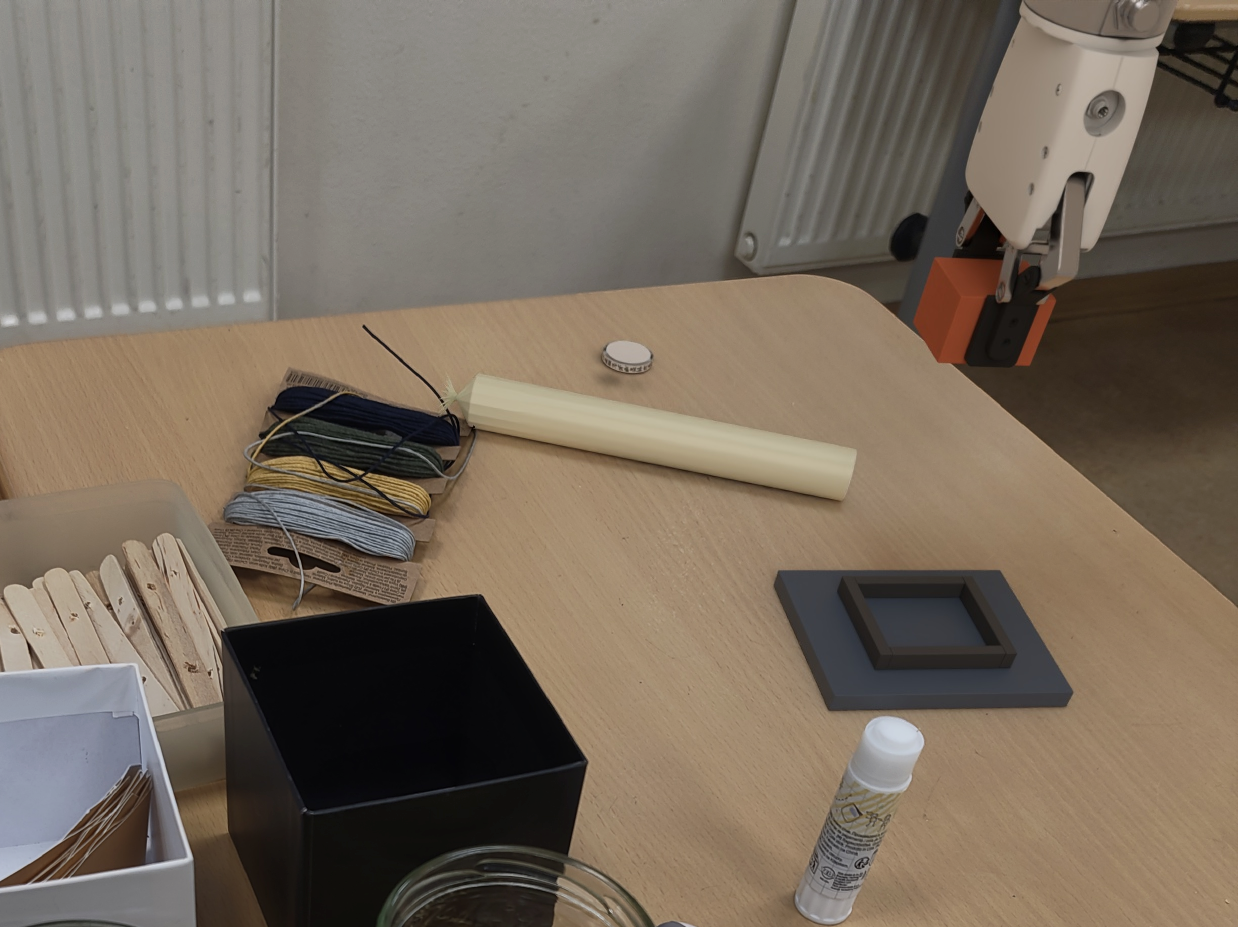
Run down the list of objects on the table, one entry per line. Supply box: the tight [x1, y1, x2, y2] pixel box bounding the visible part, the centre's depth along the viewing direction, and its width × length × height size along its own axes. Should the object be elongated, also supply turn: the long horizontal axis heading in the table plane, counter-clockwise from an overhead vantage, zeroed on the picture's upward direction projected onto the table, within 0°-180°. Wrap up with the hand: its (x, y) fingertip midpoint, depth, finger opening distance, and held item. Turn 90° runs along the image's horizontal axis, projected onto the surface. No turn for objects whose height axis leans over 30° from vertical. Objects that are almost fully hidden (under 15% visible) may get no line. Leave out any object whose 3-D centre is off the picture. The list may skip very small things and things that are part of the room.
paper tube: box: [438, 370, 858, 502], centre depth 104 cm, size 4×30×4 cm, turn 78°
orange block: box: [912, 256, 1057, 367], centre depth 88 cm, size 6×5×4 cm
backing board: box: [773, 569, 1075, 711], centre depth 94 cm, size 16×13×2 cm
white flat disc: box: [601, 339, 654, 374], centre depth 114 cm, size 4×4×1 cm
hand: (973, 338), depth 89 cm, fingers closed on orange block, 5 cm apart
